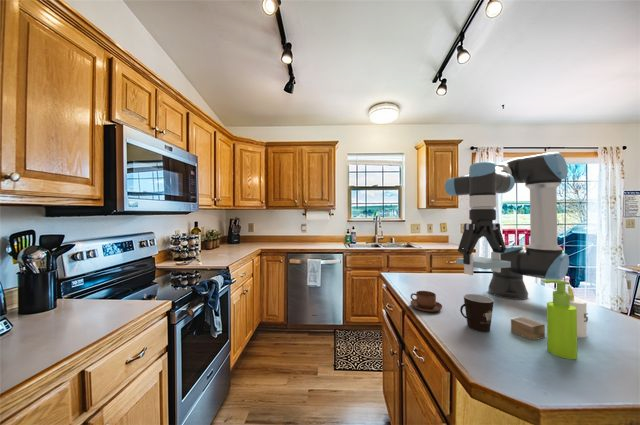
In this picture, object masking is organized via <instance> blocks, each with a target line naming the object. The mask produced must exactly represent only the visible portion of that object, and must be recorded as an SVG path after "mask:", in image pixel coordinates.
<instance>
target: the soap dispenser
mask: <svg viewBox="0 0 640 425" xmlns="http://www.w3.org/2000/svg"><path fill="white" fill-rule="evenodd" d="M541 281H542V282H543V283H545V284H556V290H553V291H552V301H548V302H546V330H547V331H546V339H547V342H546V343H547V347H546V348H547V351H548V352H549V353H550V352H551V354H552V355H554V356H556V357H560V358H561V359H567V360H576V359H578V337H577V308H576V307H574V306H571V305H570V294H569V293H568V291H566V285H567V286H570V282H569V281H566V280H563V279H562V280H555V279H541Z"/></svg>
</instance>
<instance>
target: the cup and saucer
mask: <svg viewBox="0 0 640 425" xmlns="http://www.w3.org/2000/svg"><path fill="white" fill-rule="evenodd" d="M413 296H416V298H414V297H413ZM410 299H411V300H410V305H411V306H412V307H413V308H414V309H417V310H418V311H419V310H420V311H422V312H427V313H428V312H439V311H441V310H442V309H443V304H441V303H440V302H438V301H437V300H436V299H437V294H436V293H434V292H432V291H427V290H418V291H416V292H415V293H411V294H410Z"/></svg>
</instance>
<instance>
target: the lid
mask: <svg viewBox="0 0 640 425" xmlns="http://www.w3.org/2000/svg"><path fill="white" fill-rule="evenodd" d="M455 261H456V264H457V265H462V266H464V263H463V257H456V260H455ZM508 267H511V262H509V261H503V260H497V259H491V257H486V256H485V257H484V256H473V268H475V269H482V270H491V269H495V268H508Z"/></svg>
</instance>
